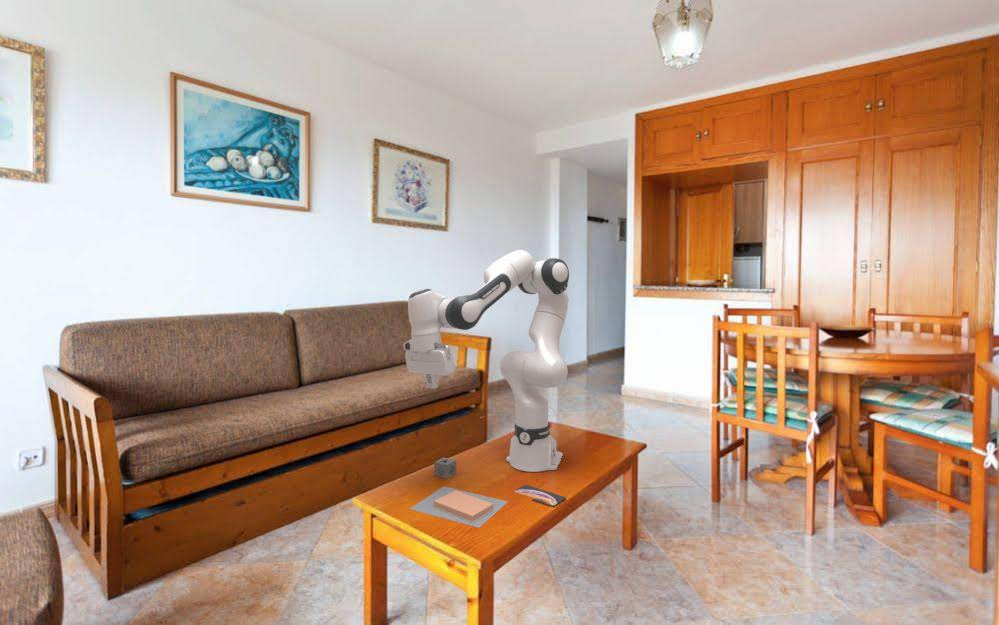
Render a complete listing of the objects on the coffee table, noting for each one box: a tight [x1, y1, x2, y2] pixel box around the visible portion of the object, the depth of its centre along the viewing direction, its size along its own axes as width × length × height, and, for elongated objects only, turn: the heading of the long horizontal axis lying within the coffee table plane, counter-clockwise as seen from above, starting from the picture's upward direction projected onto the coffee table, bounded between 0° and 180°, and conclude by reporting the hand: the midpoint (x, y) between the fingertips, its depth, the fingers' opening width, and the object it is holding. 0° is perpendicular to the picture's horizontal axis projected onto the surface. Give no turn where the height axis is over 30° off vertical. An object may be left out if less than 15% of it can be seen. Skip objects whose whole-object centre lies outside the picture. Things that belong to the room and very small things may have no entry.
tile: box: [434, 490, 493, 523], centre depth 137 cm, size 2×9×14 cm
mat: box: [409, 485, 508, 528], centre depth 140 cm, size 17×22×1 cm
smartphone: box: [513, 484, 567, 508], centre depth 147 cm, size 8×1×15 cm
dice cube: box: [433, 456, 457, 480], centre depth 161 cm, size 5×5×5 cm
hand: (433, 387), depth 151 cm, fingers closed
